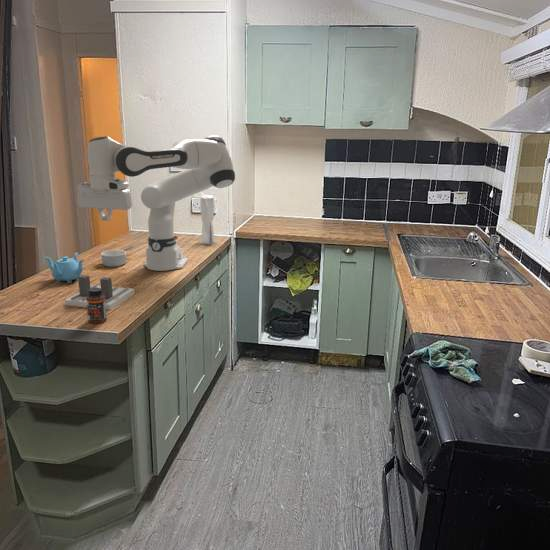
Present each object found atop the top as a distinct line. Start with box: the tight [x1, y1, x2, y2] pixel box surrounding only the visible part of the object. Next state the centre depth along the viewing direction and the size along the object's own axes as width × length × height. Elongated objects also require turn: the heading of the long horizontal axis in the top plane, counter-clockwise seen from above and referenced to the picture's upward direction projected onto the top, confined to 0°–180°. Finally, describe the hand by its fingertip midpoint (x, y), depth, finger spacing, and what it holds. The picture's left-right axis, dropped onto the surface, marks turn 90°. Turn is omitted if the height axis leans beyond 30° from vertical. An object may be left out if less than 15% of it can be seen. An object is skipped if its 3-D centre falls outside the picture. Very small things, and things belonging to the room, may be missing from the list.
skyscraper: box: [199, 192, 218, 246], centre depth 273 cm, size 8×8×28 cm
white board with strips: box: [64, 284, 136, 311], centre depth 189 cm, size 18×18×3 cm
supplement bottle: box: [86, 287, 107, 324], centre depth 168 cm, size 6×6×11 cm
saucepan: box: [100, 245, 134, 268], centre depth 237 cm, size 12×20×6 cm, turn 159°
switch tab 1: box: [77, 274, 91, 297], centre depth 186 cm, size 2×3×8 cm
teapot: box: [44, 252, 85, 284], centre depth 209 cm, size 13×13×10 cm
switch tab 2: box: [99, 276, 113, 299], centre depth 184 cm, size 2×3×8 cm
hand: (105, 220), depth 186 cm, fingers closed
